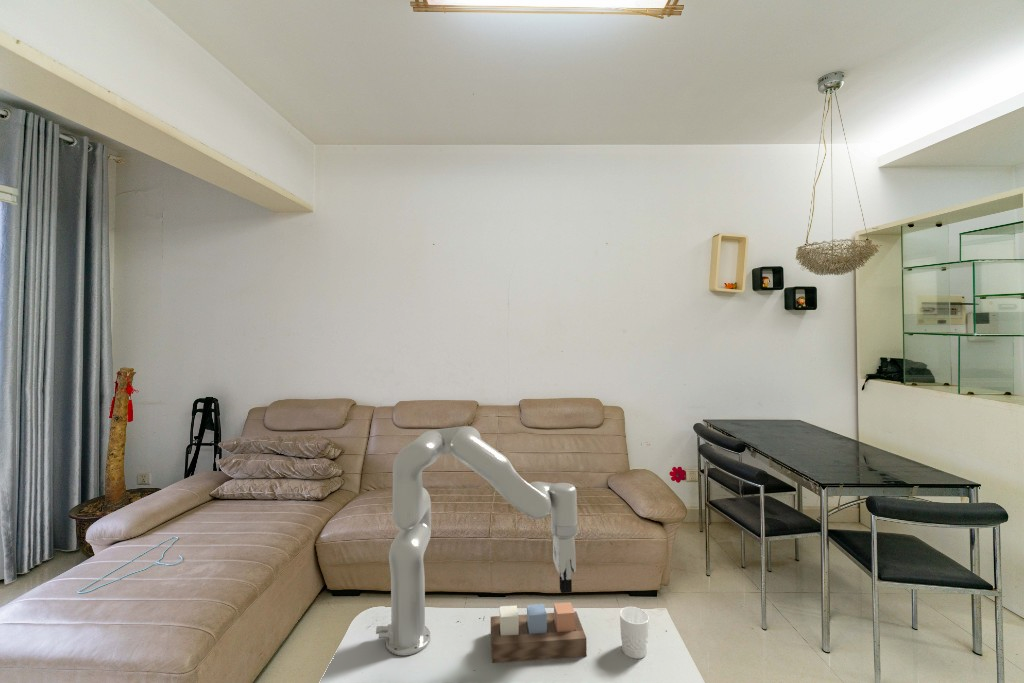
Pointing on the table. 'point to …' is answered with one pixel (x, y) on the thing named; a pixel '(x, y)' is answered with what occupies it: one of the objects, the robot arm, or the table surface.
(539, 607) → the slate key
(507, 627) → the cream key
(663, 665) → the table surface
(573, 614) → the peach block
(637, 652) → the white cup
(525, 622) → the brown long flat block
